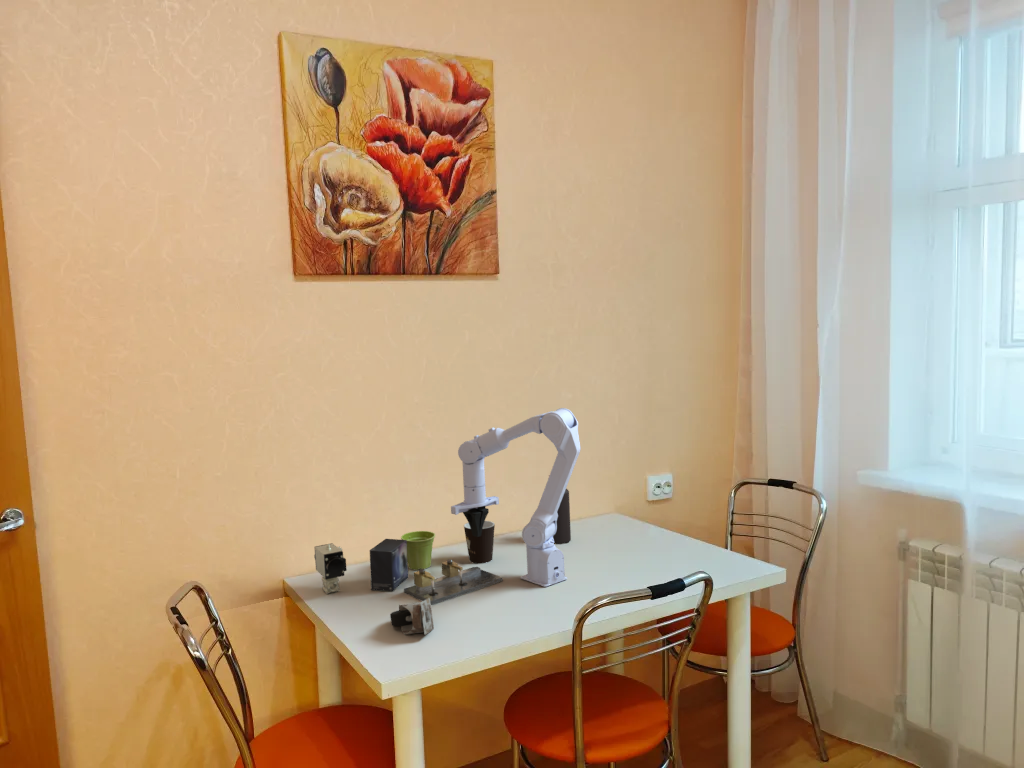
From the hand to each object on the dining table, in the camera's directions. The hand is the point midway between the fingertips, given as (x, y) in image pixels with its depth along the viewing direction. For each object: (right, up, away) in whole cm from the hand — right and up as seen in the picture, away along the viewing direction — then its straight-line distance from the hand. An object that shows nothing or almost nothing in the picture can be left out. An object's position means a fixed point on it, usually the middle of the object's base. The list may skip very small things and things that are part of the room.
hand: (476, 535), depth 196 cm
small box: (-22, -12, -5) cm, 25 cm away
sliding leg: (-5, -9, -9) cm, 14 cm away
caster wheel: (-13, -14, -34) cm, 39 cm away
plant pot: (-16, -10, +8) cm, 21 cm away
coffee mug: (+1, -9, +13) cm, 16 cm away
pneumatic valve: (-36, -12, -8) cm, 39 cm away
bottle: (+24, -7, +26) cm, 36 cm away
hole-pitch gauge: (-5, -11, -9) cm, 15 cm away
